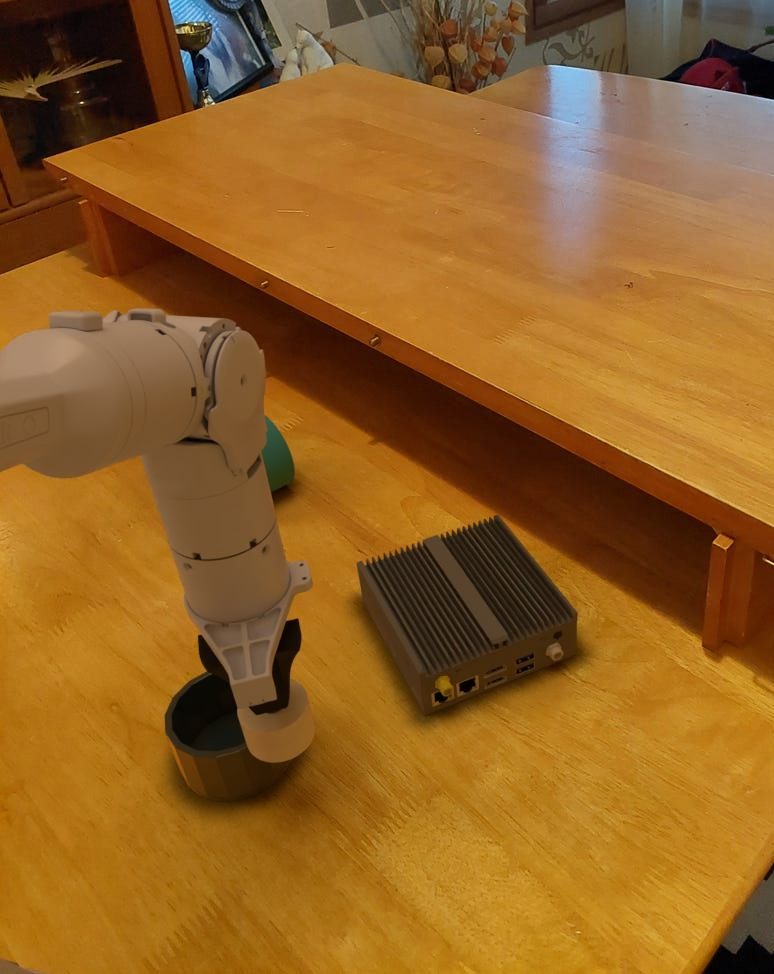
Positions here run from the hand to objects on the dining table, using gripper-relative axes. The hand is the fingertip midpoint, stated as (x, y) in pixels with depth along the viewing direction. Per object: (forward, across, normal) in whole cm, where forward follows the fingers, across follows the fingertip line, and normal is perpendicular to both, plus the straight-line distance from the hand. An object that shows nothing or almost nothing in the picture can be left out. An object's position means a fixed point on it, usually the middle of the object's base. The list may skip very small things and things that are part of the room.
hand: (269, 694), depth 57 cm
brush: (+4, 0, 0) cm, 4 cm away
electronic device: (+11, +11, -15) cm, 22 cm away
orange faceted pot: (+10, +5, +4) cm, 12 cm away
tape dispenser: (+11, +39, +2) cm, 41 cm away
